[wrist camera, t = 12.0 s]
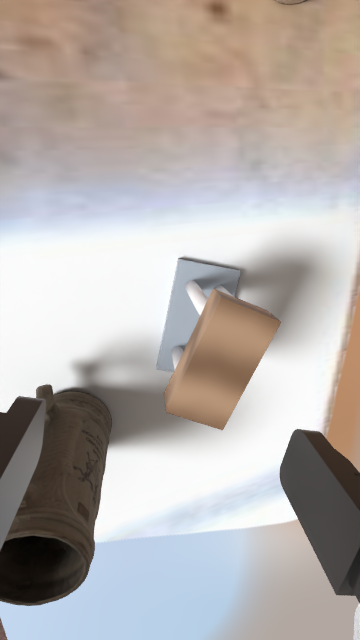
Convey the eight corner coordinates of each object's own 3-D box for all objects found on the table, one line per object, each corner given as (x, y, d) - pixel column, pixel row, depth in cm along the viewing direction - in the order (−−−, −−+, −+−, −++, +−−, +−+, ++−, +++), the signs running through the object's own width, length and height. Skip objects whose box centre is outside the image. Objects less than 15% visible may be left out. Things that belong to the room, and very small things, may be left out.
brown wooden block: (213, 288, 31) (221, 297, 28) (267, 310, 32) (281, 322, 29) (164, 392, 34) (166, 412, 30) (215, 409, 35) (222, 430, 32)
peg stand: (178, 258, 41) (189, 274, 30) (238, 270, 42) (269, 289, 31) (156, 366, 45) (160, 412, 34) (212, 373, 46) (231, 420, 36)
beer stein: (126, 438, 48) (114, 585, 29) (60, 466, 48) (6, 628, 30) (76, 352, 43) (23, 461, 24) (3, 383, 43) (-106, 515, 25)
